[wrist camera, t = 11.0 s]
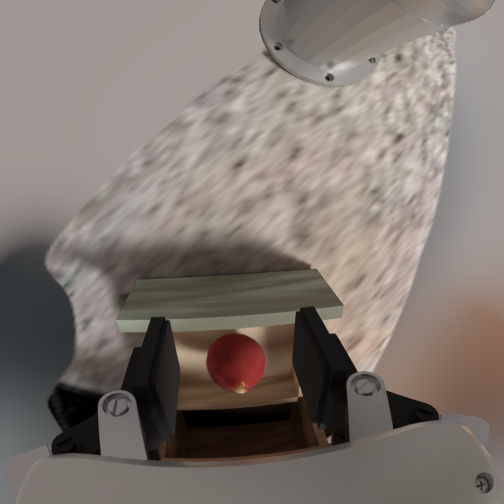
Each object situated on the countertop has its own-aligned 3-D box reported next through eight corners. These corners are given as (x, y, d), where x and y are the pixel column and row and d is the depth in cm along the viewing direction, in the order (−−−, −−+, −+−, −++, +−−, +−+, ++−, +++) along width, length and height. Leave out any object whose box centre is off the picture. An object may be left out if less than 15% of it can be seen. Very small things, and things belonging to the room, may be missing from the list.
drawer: (136, 279, 28) (116, 320, 21) (316, 268, 30) (343, 305, 23) (162, 380, 33) (155, 426, 26) (305, 370, 35) (322, 413, 28)
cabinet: (163, 381, 34) (151, 468, 21) (304, 371, 36) (335, 453, 23) (180, 432, 38) (177, 504, 26) (296, 423, 40) (316, 492, 28)
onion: (228, 366, 32) (232, 419, 25) (195, 336, 30) (192, 390, 23) (269, 341, 31) (283, 393, 24) (238, 308, 29) (246, 360, 22)
